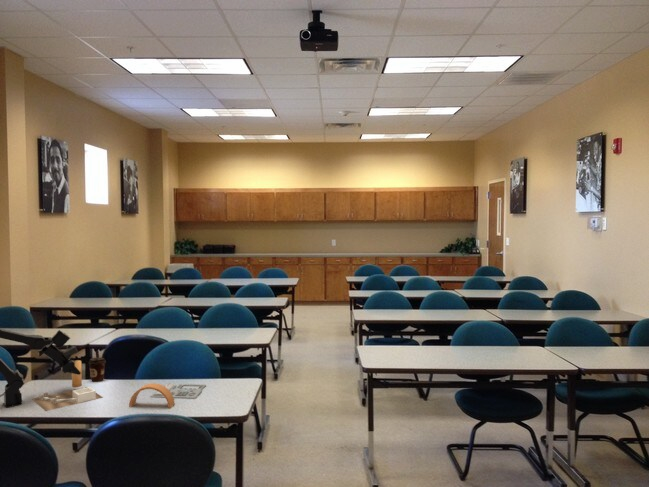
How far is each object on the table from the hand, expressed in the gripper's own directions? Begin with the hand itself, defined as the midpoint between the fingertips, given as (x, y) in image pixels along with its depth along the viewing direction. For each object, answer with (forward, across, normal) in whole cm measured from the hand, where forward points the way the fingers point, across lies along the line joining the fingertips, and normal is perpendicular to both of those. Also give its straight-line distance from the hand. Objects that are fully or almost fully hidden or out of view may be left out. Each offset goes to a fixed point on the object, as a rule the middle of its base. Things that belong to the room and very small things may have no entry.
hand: (79, 372), depth 263 cm
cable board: (+3, -8, +12) cm, 15 cm away
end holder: (+7, -13, +7) cm, 16 cm away
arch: (+27, -37, -11) cm, 47 cm away
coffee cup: (+15, +15, 0) cm, 21 cm away
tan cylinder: (+4, 0, +6) cm, 7 cm away
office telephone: (+39, -24, -23) cm, 52 cm away
